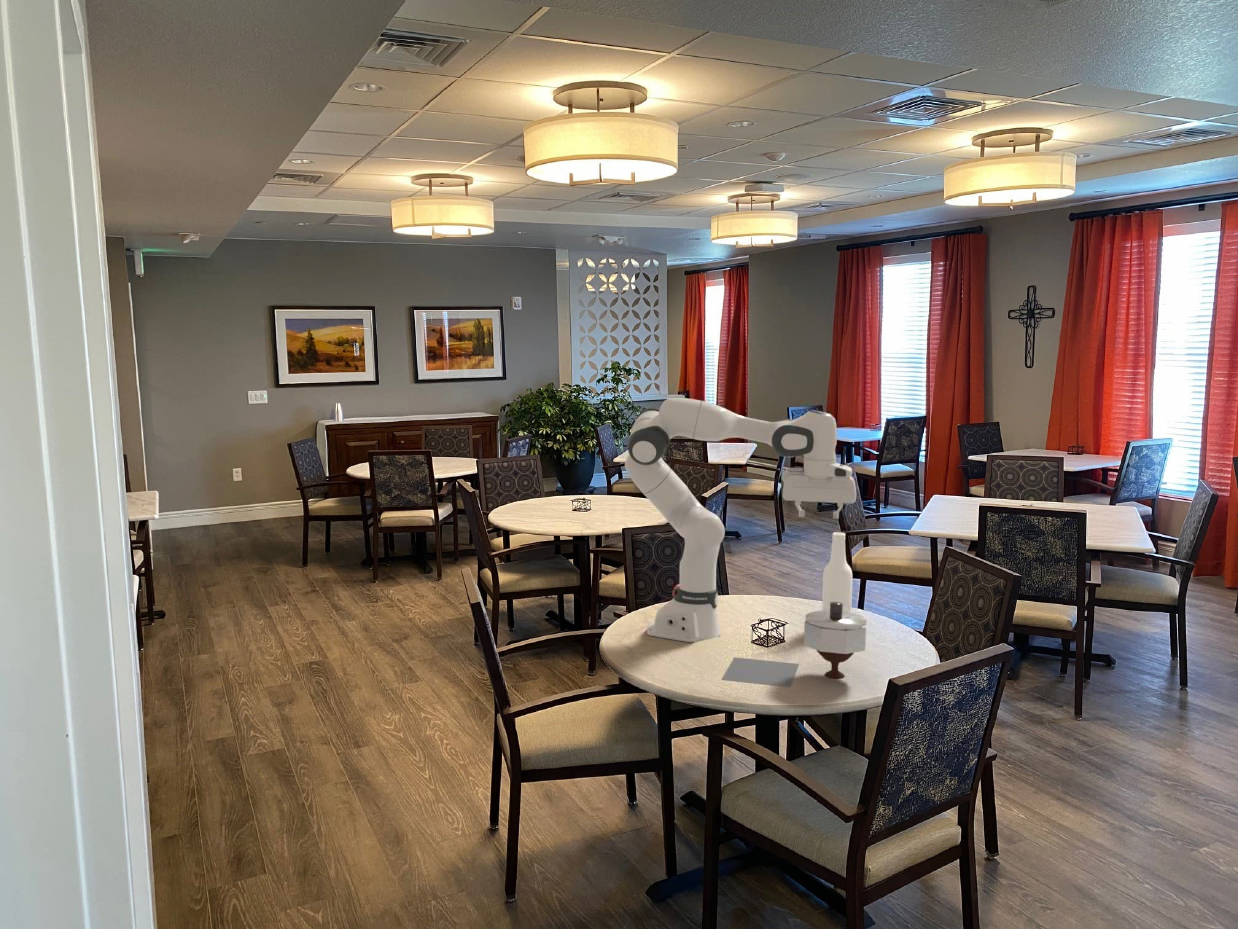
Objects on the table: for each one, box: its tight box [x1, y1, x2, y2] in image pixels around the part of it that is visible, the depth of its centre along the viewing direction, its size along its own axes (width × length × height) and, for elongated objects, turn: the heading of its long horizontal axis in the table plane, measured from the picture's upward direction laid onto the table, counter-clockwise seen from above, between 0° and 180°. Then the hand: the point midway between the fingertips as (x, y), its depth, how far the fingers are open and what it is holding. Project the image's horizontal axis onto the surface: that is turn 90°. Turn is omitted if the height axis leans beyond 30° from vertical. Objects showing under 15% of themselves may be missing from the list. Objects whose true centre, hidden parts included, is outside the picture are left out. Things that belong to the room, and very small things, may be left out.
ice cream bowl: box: [816, 650, 855, 680], centre depth 239 cm, size 11×11×15 cm
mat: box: [721, 656, 800, 688], centre depth 243 cm, size 18×18×1 cm
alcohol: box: [821, 531, 853, 613], centre depth 280 cm, size 9×9×30 cm
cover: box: [803, 602, 867, 654], centre depth 238 cm, size 16×16×11 cm
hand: (818, 517), depth 255 cm, fingers open, 8 cm apart
